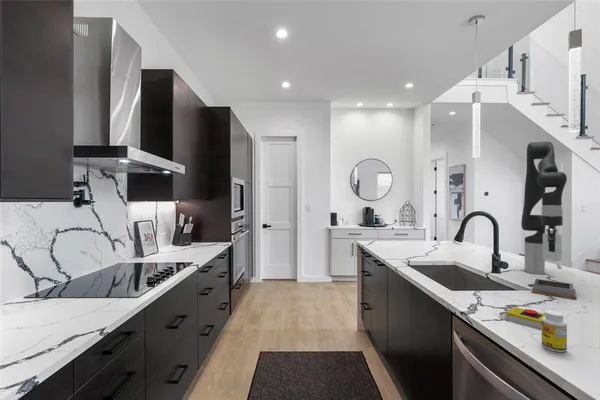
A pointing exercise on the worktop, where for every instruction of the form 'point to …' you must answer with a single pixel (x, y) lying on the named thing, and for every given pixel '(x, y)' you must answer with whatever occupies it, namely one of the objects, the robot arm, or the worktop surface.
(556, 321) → the supplement bottle
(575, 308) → the worktop surface
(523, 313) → the emergency button
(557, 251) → the skincare box
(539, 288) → the dock socket
